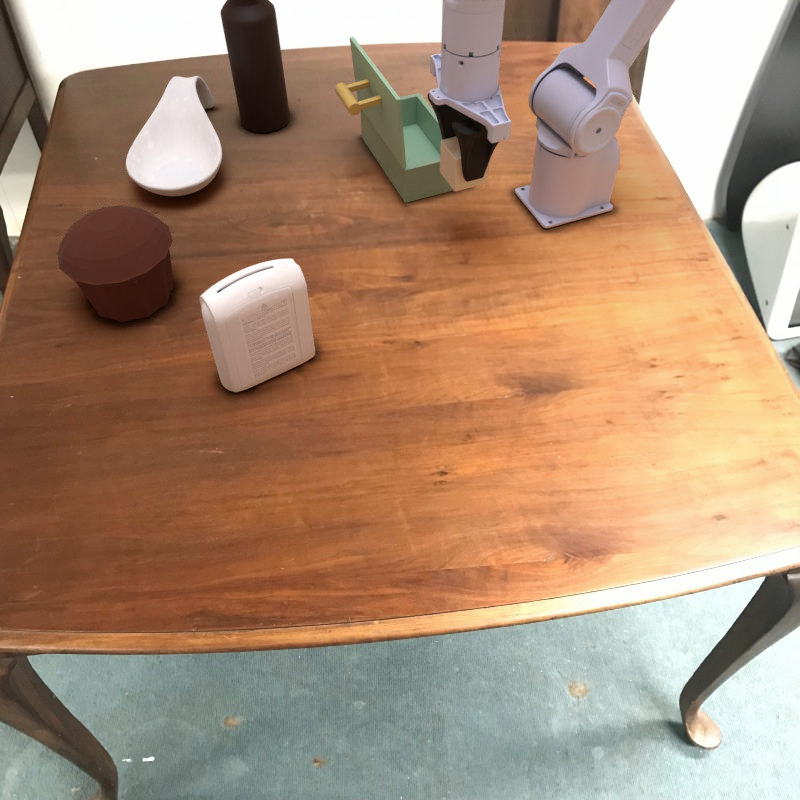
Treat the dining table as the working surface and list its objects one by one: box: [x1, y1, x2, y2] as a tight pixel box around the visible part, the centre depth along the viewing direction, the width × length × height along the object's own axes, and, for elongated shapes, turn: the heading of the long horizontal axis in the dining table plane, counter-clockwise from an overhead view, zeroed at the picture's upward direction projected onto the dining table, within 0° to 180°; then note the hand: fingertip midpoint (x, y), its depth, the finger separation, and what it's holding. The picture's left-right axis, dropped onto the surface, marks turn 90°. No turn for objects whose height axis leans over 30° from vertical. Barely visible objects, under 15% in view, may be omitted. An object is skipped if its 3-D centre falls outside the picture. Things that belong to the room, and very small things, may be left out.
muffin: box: [57, 204, 174, 323], centre depth 82 cm, size 12×11×10 cm
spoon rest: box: [125, 75, 223, 197], centre depth 99 cm, size 24×12×7 cm, turn 3°
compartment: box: [360, 92, 454, 204], centre depth 99 cm, size 8×15×5 cm, turn 22°
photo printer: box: [199, 257, 316, 393], centre depth 74 cm, size 10×4×12 cm, turn 123°
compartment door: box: [334, 35, 406, 168], centre depth 92 cm, size 9×15×5 cm
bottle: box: [219, 0, 291, 134], centre depth 99 cm, size 7×7×20 cm
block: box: [440, 136, 491, 192], centre depth 83 cm, size 4×4×4 cm
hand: (464, 166), depth 84 cm, fingers closed on block, 4 cm apart
